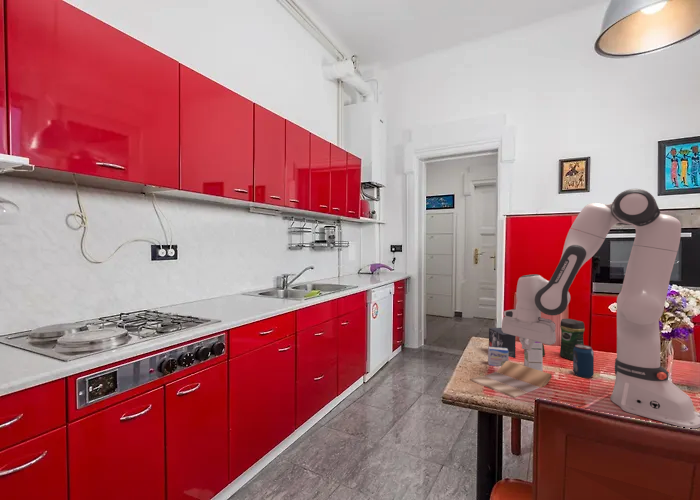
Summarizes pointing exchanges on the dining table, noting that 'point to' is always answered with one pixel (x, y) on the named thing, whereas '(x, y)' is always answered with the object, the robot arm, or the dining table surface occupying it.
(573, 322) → the coffee jar
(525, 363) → the syrup box
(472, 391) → the dining table surface
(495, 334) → the small box
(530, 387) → the grey plank
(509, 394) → the birch plank
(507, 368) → the oak plank
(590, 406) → the dining table surface
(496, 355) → the medicine box
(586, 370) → the soda can
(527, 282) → the robot arm
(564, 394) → the dining table surface
